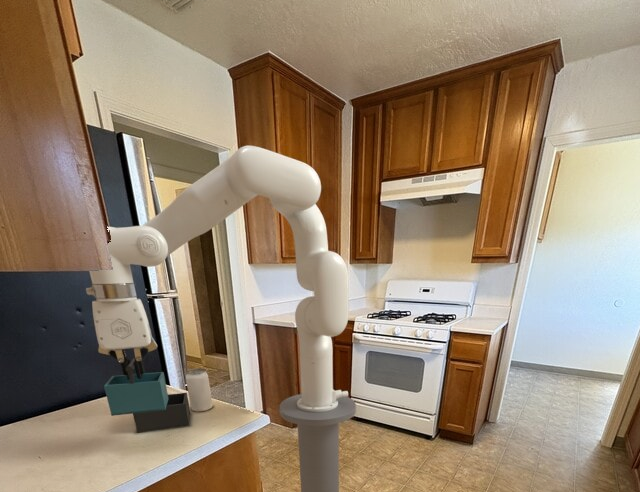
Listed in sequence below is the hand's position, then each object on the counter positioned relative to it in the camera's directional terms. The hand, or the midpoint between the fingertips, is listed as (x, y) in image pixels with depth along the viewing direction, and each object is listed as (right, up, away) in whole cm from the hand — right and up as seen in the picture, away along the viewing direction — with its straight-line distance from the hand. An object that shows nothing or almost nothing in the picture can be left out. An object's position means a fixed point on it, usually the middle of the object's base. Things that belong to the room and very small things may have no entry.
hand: (135, 377), depth 81 cm
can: (+5, -7, +30) cm, 31 cm away
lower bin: (-2, -11, +20) cm, 23 cm away
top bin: (0, -7, +3) cm, 7 cm away
